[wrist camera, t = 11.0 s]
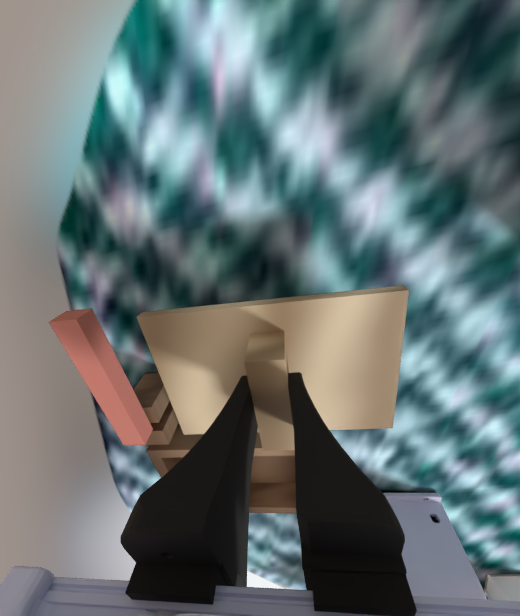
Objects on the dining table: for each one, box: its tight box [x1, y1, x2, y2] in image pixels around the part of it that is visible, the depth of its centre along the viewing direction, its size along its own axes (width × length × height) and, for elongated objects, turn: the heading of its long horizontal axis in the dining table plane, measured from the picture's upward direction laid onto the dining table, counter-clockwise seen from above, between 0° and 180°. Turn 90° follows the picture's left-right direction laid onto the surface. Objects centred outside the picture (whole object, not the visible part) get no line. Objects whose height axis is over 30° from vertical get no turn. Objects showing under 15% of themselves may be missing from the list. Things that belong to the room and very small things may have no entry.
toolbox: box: [134, 373, 296, 513], centre depth 22 cm, size 14×16×4 cm
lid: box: [137, 286, 409, 451], centre depth 13 cm, size 14×9×3 cm
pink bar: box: [49, 309, 153, 445], centre depth 16 cm, size 2×10×1 cm, turn 9°
